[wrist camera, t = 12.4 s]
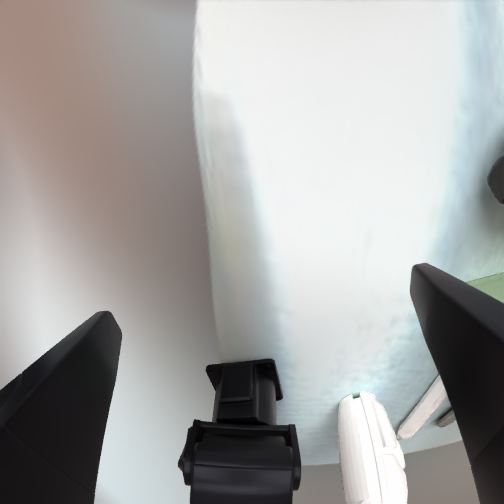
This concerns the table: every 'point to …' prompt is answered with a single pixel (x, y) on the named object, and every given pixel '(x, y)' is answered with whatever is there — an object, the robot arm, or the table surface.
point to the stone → (446, 419)
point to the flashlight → (369, 453)
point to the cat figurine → (497, 179)
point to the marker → (423, 409)
